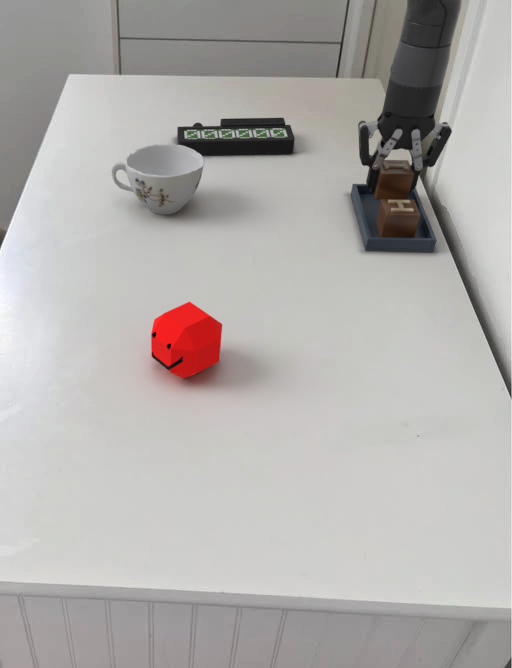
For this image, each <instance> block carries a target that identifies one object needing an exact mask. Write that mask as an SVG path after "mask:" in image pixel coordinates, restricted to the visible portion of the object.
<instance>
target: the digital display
mask: <svg viewBox="0 0 512 668" xmlns="http://www.w3.org/2000/svg"><path fill="white" fill-rule="evenodd" d="M176 127H177V128H176V129H177V132H176V133H177V134H176V137H177V139H176V140H177V145H182V146H186V147H188V148H191V149H193V150H195V151H196V152H197V153H200V154H201V155H202V157H203V156H204V157H205V156H207V157H208V156H257V155H259V156H261V155H264V156H265V155H292V154H293V153H294V146H295V140H296V138H295V135H294V131H293V129H292V126H291V124H286V121H285V118H284V117H243V118H242V117H240V118H239V117H238V118H236V117H235V118H221V119H220V125H204V124H202V123H201V122H195V123H194V124H193V125H192V126H189V125H188V126H176Z"/></svg>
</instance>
